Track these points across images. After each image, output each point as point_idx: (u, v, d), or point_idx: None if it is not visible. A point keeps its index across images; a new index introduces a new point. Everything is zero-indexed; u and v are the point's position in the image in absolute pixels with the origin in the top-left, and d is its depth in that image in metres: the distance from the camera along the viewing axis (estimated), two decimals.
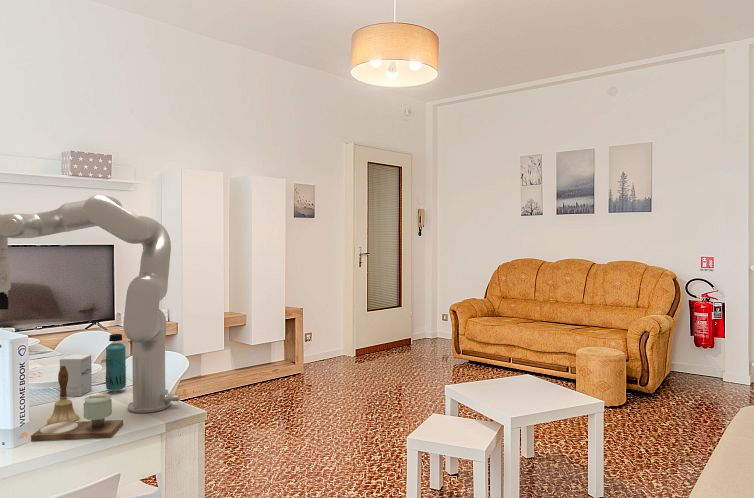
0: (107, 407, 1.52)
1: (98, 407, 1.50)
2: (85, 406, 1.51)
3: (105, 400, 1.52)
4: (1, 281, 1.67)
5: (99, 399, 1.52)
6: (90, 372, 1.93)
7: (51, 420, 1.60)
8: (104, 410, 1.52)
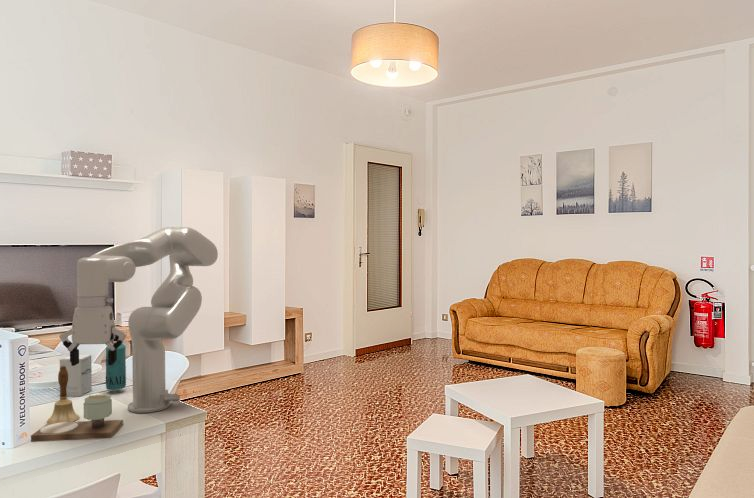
0: (107, 407, 1.52)
1: (98, 407, 1.50)
2: (85, 406, 1.51)
3: (105, 400, 1.52)
4: None
5: (99, 399, 1.52)
6: (90, 372, 1.93)
7: (51, 420, 1.60)
8: (104, 410, 1.52)
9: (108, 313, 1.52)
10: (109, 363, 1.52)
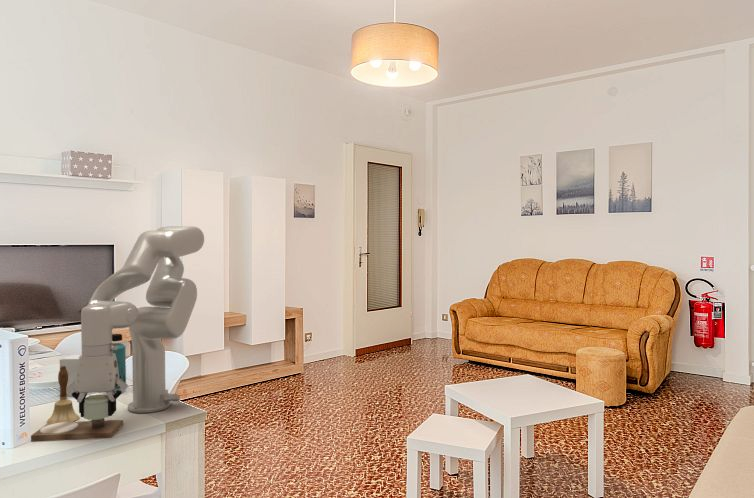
0: (107, 407, 1.52)
1: (98, 407, 1.50)
2: (85, 406, 1.51)
3: (105, 400, 1.52)
4: None
5: (99, 399, 1.52)
6: None
7: (51, 420, 1.60)
8: (104, 410, 1.52)
9: (113, 361, 1.52)
10: (109, 414, 1.52)
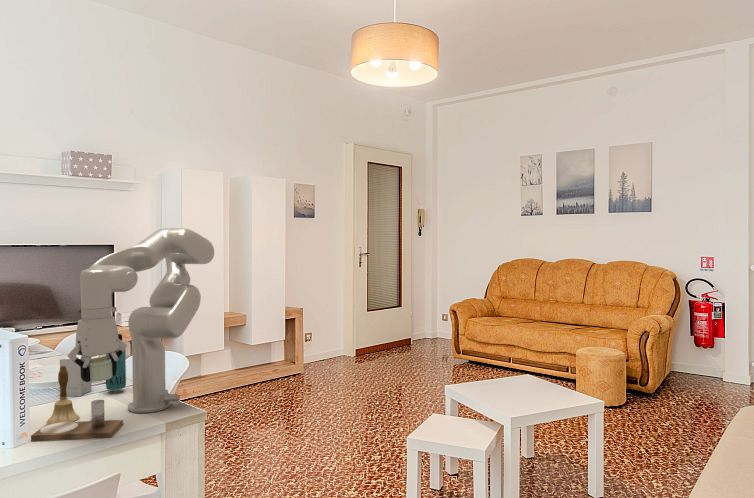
0: None
1: (108, 367, 1.53)
2: (93, 369, 1.51)
3: (110, 360, 1.55)
4: None
5: (105, 360, 1.53)
6: None
7: (51, 420, 1.60)
8: (111, 370, 1.54)
9: (115, 322, 1.56)
10: (114, 374, 1.56)
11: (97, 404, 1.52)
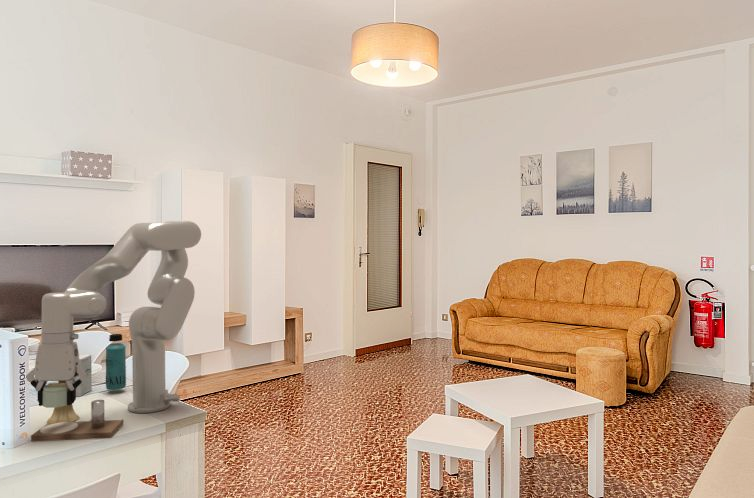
0: (66, 395, 1.51)
1: (56, 395, 1.49)
2: (44, 394, 1.49)
3: (64, 388, 1.50)
4: None
5: (58, 387, 1.50)
6: (90, 372, 1.93)
7: (51, 420, 1.60)
8: (63, 398, 1.50)
9: (73, 349, 1.51)
10: (68, 403, 1.50)
11: (97, 404, 1.52)
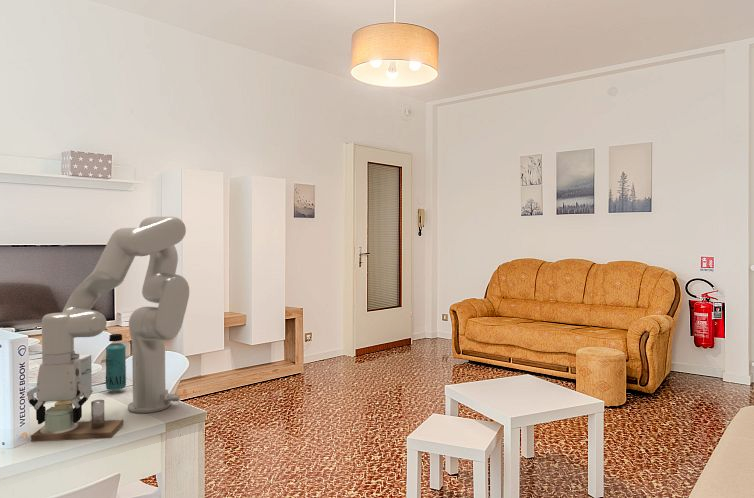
0: (69, 418, 1.51)
1: (59, 419, 1.49)
2: (46, 418, 1.50)
3: (67, 411, 1.51)
4: None
5: (60, 410, 1.51)
6: (90, 372, 1.93)
7: None
8: (66, 422, 1.51)
9: (74, 369, 1.51)
10: (74, 421, 1.51)
11: (97, 404, 1.52)
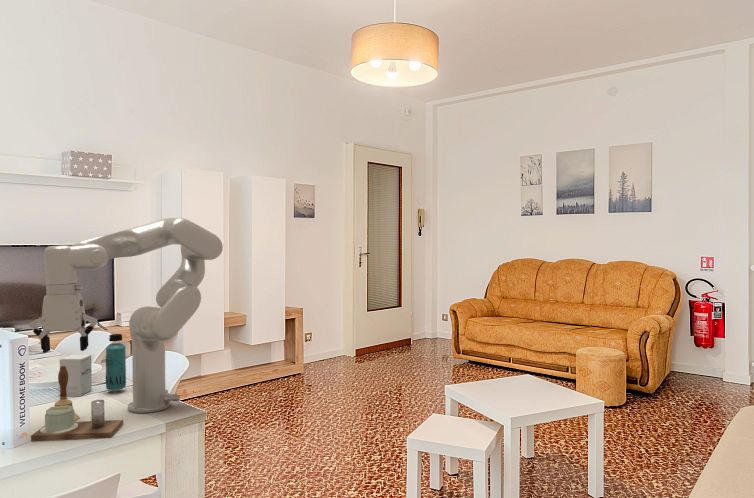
0: (69, 418, 1.51)
1: (59, 419, 1.49)
2: (46, 418, 1.50)
3: (67, 411, 1.51)
4: None
5: (60, 410, 1.51)
6: (90, 372, 1.93)
7: None
8: (66, 422, 1.51)
9: (78, 300, 1.55)
10: (81, 349, 1.55)
11: (97, 404, 1.52)
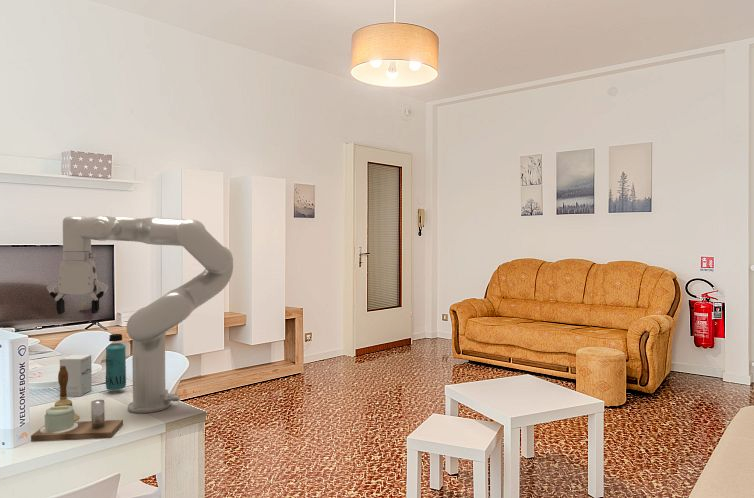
0: (69, 418, 1.51)
1: (59, 419, 1.49)
2: (46, 418, 1.50)
3: (67, 411, 1.51)
4: None
5: (60, 410, 1.51)
6: (90, 372, 1.93)
7: None
8: (66, 422, 1.51)
9: (91, 266, 1.69)
10: (92, 311, 1.69)
11: (97, 404, 1.52)
